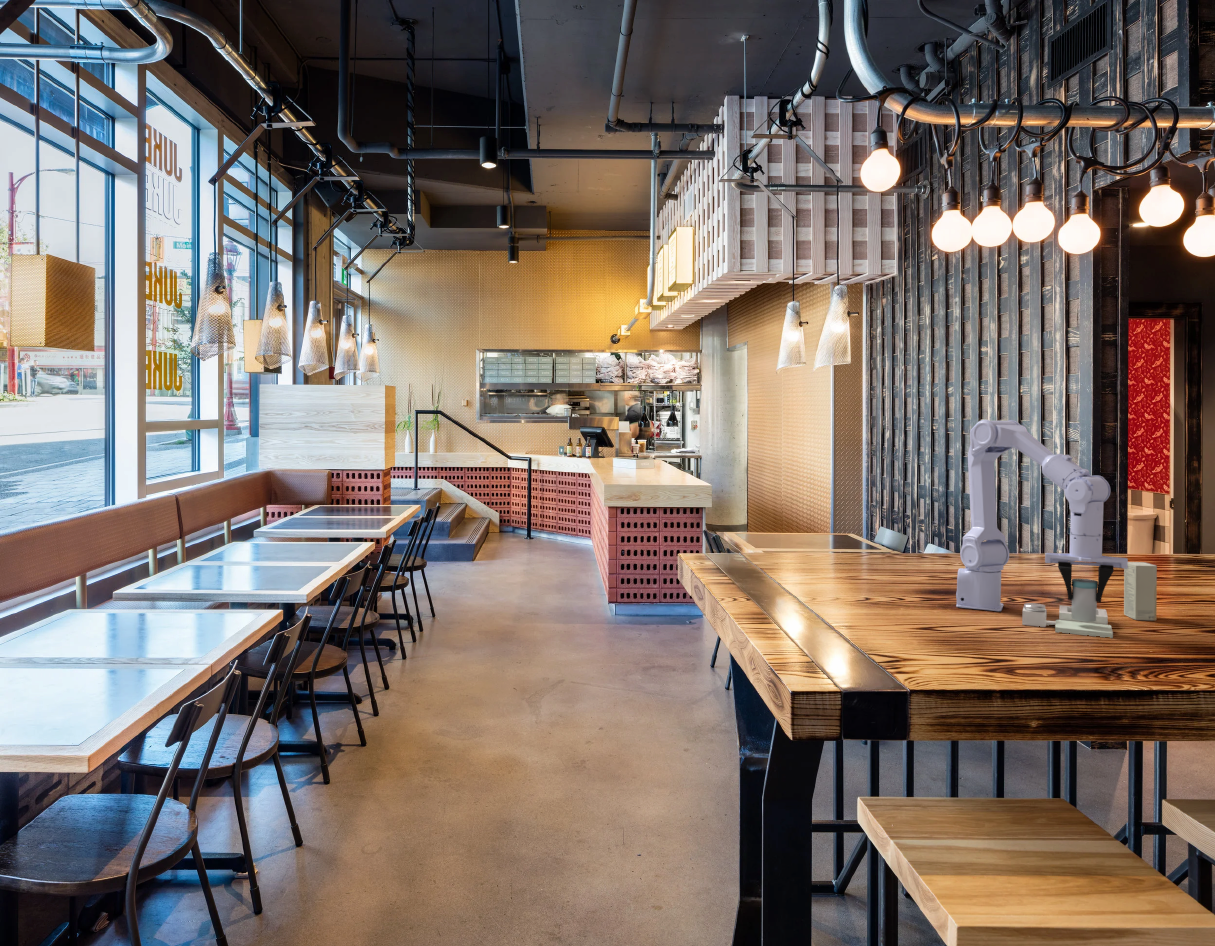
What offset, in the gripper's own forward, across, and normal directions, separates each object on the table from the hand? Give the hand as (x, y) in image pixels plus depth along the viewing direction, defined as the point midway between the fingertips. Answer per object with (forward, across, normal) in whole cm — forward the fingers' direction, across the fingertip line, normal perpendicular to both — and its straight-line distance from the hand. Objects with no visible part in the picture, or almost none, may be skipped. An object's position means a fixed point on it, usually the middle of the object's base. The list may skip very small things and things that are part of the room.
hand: (1084, 600), depth 164 cm
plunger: (+6, -9, +2) cm, 11 cm away
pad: (+6, 0, 0) cm, 6 cm away
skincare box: (+7, +11, +21) cm, 25 cm away
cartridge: (+4, 0, 0) cm, 4 cm away
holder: (+6, -3, +7) cm, 10 cm away
